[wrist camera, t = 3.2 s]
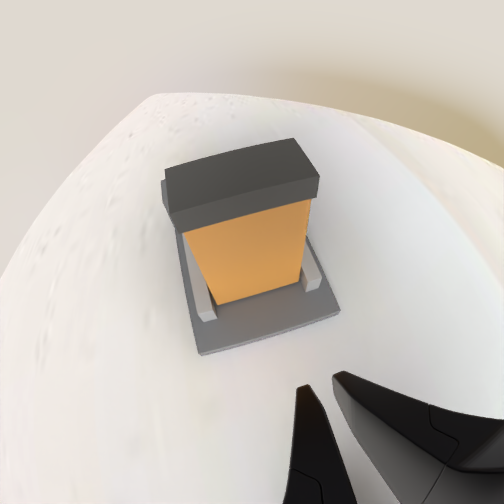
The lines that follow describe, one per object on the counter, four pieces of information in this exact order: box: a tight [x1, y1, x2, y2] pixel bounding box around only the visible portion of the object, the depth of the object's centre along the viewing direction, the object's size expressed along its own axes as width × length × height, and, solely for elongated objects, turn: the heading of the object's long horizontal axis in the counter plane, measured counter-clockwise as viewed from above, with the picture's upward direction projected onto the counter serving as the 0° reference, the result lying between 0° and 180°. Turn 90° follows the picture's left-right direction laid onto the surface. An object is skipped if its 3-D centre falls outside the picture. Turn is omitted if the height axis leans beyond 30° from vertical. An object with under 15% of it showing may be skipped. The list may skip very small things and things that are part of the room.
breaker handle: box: [165, 138, 320, 305], centre depth 19 cm, size 3×7×12 cm, turn 106°
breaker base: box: [161, 179, 340, 356], centre depth 24 cm, size 16×12×5 cm
